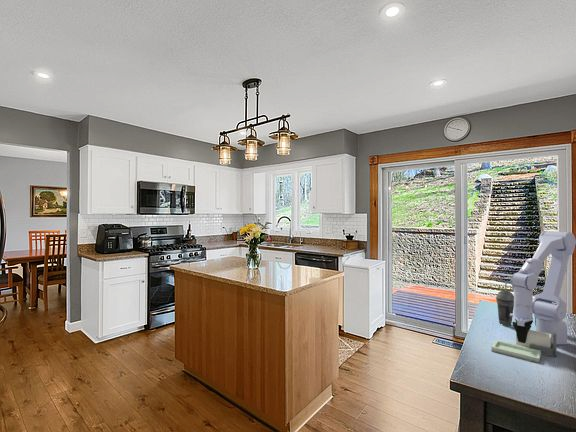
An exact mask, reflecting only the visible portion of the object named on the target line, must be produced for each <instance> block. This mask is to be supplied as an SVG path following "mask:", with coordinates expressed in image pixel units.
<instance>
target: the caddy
mask: <svg viewBox="0 0 576 432" xmlns="http://www.w3.org/2000/svg"><path fill="white" fill-rule="evenodd" d="M515 336H516V337H515V339H516V341H515V345H519V346H523V347H527V348H530V344H534V345H539V346H543V347H547V348H551V334H548V333H543V332H538V331H536V330H532V329H530V330H529V331H528V334H527V339H526V342H525V343H522V342H518V339H517V334H515Z"/></svg>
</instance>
